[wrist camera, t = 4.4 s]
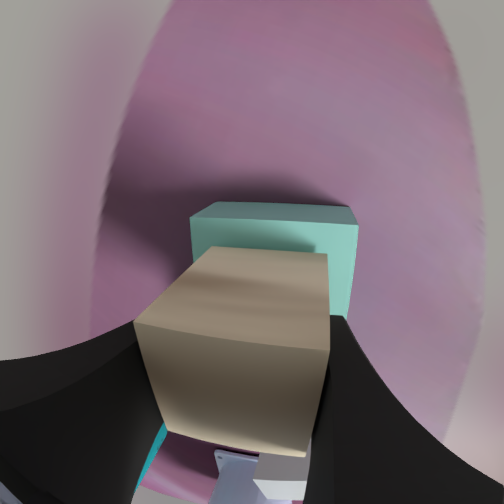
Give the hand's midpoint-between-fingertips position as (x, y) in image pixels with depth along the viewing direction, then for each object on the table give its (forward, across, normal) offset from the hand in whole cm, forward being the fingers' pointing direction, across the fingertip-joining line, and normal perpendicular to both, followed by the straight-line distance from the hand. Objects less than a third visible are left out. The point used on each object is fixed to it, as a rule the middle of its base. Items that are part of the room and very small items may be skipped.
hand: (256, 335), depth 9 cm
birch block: (+2, 0, 0) cm, 2 cm away
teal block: (+5, 0, 0) cm, 5 cm away
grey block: (+6, -2, +14) cm, 15 cm away
